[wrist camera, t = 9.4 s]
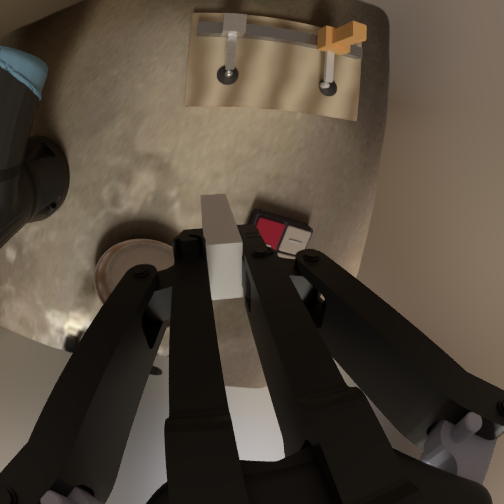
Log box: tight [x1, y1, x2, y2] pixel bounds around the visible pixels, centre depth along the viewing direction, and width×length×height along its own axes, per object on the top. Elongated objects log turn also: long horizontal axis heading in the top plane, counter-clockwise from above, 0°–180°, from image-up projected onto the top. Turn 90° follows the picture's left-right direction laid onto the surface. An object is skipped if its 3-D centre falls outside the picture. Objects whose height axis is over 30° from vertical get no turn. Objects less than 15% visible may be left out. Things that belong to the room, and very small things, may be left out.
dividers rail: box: [197, 13, 363, 78], centre depth 31 cm, size 26×10×5 cm, turn 87°
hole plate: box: [185, 13, 362, 121], centre depth 34 cm, size 28×16×2 cm, turn 87°
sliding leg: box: [317, 21, 366, 88], centre depth 29 cm, size 4×10×11 cm, turn 176°
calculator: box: [243, 209, 313, 292], centre depth 50 cm, size 11×4×15 cm
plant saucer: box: [94, 239, 174, 328], centre depth 48 cm, size 21×21×3 cm
